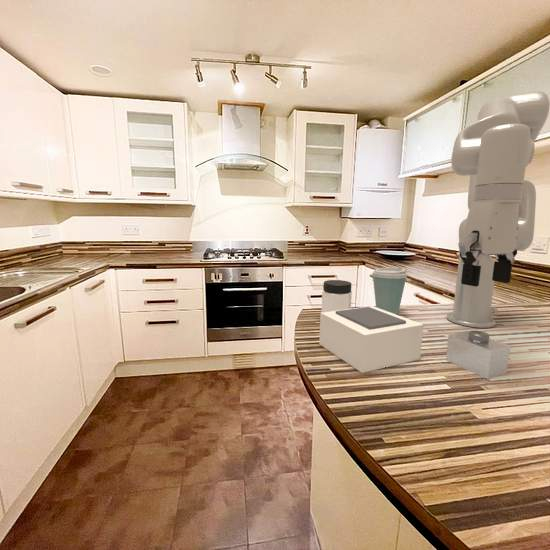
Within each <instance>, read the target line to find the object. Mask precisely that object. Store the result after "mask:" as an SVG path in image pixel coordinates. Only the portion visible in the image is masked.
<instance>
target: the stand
mask: <svg viewBox="0 0 550 550" xmlns="http://www.w3.org/2000/svg"><path fill="white" fill-rule="evenodd" d="M319 313H320V314H319V315H320V320H319V343H318V344H319V345H320V346H322V347H323V348H325V349H326V350H327V351H329V352H330V353H332V354H333V355H335V356H336V357H338V358H340V359H341V360H342V361H344V362H346V363H347V364H348V365H349V366H350V367H353V368H355V369H356V370H357V371H358V372H360V373H361V374H364V373H368V372H372V371H378V370H380V369H384V368H385V367H386V368H389V367H390V368H391V367H394V366H398V365H401V364H405V363H411V362H414V361H417V360H418V361H419V360H421V354H422V353H421V351H422V345H423V344H422V343H423V342H422V341H423V332H424V324H422V323H420V322H419V321H418V322H417V321H415V320H413V319H409V318H407V317H404V316H401V315H398V314H397V315H396V314H393V313H390V312H388V311H385V310H382V309H379V308H377V307H376V306H374V305H369V306H360V307H355V308H351V309H345V310H338V311H330V312H323V313H322V312H319Z"/></svg>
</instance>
